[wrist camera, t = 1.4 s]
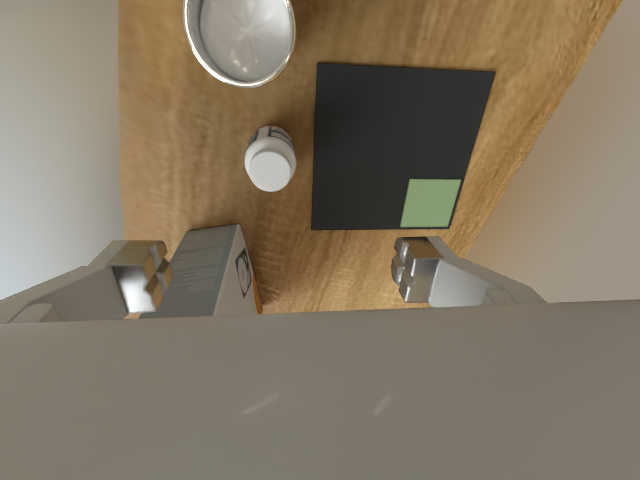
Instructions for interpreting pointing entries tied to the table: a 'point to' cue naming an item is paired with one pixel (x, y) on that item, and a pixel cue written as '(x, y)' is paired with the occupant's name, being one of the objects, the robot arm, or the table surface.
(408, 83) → the mat
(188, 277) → the hard drive box
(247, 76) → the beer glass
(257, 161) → the pill bottle
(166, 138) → the table surface
